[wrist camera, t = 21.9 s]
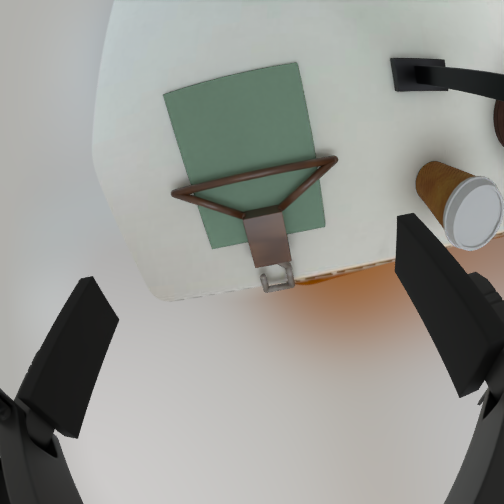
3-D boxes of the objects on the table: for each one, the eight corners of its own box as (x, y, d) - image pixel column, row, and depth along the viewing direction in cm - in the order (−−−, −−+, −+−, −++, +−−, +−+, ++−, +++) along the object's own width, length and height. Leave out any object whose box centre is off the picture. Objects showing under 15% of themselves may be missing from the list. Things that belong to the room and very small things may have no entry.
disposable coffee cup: (424, 222, 41) (464, 267, 31) (394, 178, 38) (438, 217, 27) (465, 185, 38) (512, 221, 27) (440, 137, 34) (493, 164, 24)
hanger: (172, 187, 38) (212, 296, 48) (167, 194, 36) (211, 306, 46) (334, 152, 35) (346, 271, 45) (340, 157, 33) (350, 280, 43)
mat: (324, 224, 42) (325, 226, 41) (212, 247, 43) (212, 249, 43) (296, 62, 30) (297, 62, 30) (164, 94, 32) (162, 94, 31)
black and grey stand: (395, 90, 31) (533, 130, 12) (368, -27, 22) (480, -91, 3) (443, 90, 30) (579, 134, 11) (421, -21, 22) (544, -53, 2)
